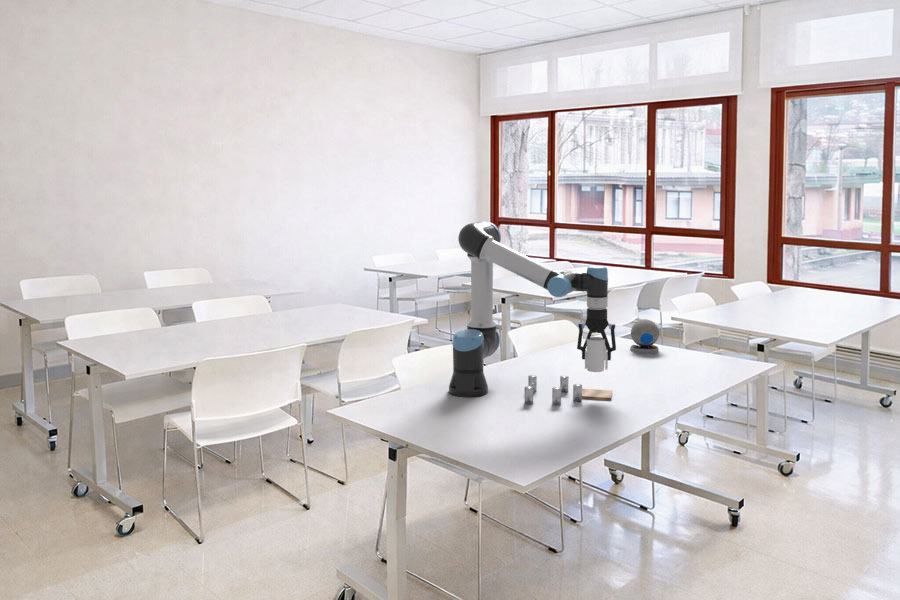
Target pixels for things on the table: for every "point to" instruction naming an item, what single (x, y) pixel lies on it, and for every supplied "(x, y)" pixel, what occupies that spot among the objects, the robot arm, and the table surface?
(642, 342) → the webcam
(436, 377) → the table surface
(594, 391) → the trivet
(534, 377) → the cylinder
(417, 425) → the table surface
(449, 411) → the table surface
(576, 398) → the cylinder
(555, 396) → the cylinder
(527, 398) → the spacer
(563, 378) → the cylinder
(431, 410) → the table surface
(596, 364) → the mug
